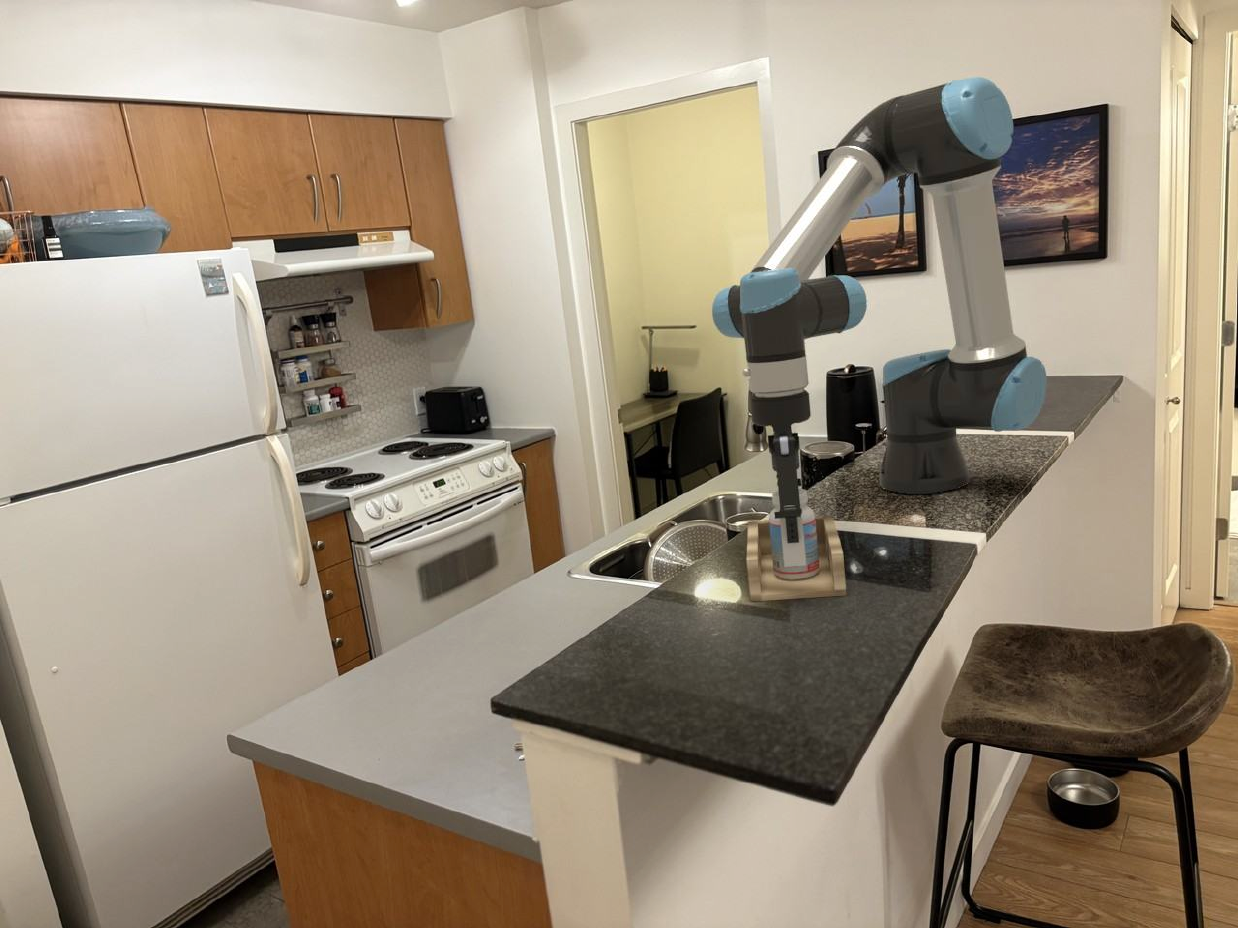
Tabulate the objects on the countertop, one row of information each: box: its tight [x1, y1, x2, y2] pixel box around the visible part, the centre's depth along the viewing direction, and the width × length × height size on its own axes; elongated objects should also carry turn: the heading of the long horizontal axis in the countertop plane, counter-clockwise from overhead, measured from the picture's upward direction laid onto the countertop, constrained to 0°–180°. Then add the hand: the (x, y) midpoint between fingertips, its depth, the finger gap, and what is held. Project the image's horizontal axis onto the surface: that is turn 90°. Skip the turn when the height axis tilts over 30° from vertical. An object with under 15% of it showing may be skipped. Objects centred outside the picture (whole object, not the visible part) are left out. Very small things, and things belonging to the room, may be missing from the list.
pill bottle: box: [768, 488, 820, 580], centre depth 123 cm, size 6×6×11 cm
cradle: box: [746, 514, 847, 602], centre depth 125 cm, size 18×12×6 cm
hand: (793, 549), depth 123 cm, fingers open, 13 cm apart
